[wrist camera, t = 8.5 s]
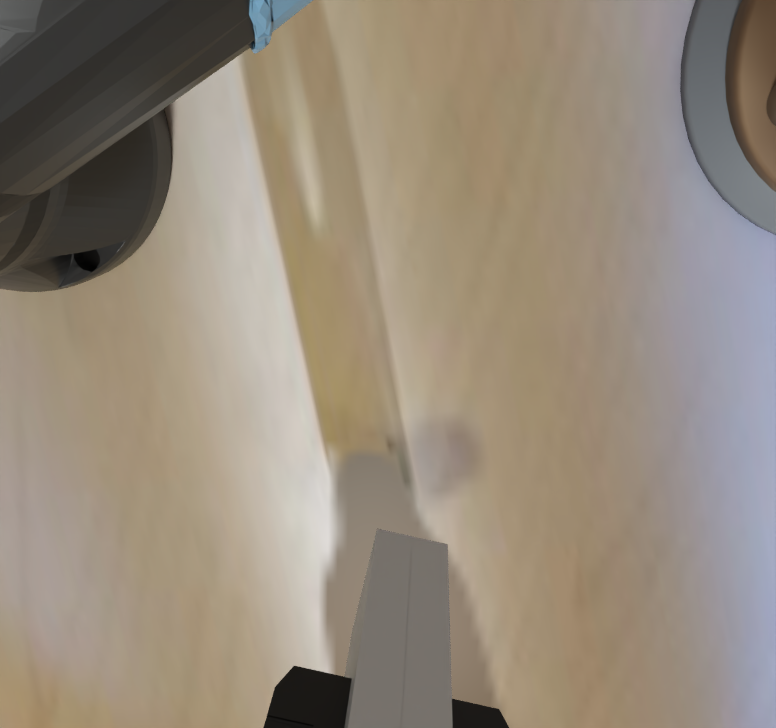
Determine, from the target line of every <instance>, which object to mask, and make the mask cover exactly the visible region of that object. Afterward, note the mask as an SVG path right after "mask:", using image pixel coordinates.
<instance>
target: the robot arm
mask: <svg viewBox="0 0 776 728" xmlns="http://www.w3.org/2000/svg"><path fill="white" fill-rule="evenodd" d="M311 1H313V0H0V289H6V290H14V291H23V292H42V291H51V290H58V289H63V288H68V287H71V286H75V285H78V284H80V283H83V282H86V281H88V280H90V279H93V278H95V277H97V276H100V275H102V274H104V273H106V272H108V271H110V270H112V269H113V268H115V267H117V266H118V265H120V264H121V263H123V262H124V261H125V260H126V259H128V258H129V257H130V256H131V255H132V254H133V253H134V252H135V251H136V250H137V249H138V248H139V247H140V246H141V245H142V244H143V242H144V241H145V240H146V238H147V237H148V236H149V234H150V233H151V231H152V229H153V228H154V226H155V224H156V222H157V220H158V218H159V216H160V214H161V211H162V209H163V206H164V203H165V199H166V196H167V191H168V187H169V181H170V172H171V145H170V136H169V129H168V125H167V120H166V116H165V112H164V108H165V107H167V106H168V105H169V104H171V103H172V102H174V101H175V100H176V99H178V98H179V97H181V96H182V95H184V94H185V93H186V92H188V91H189V90H191V89H192V88H193V87H195V86H196V85H198V84H199V83H200V82H202V81H203V80H205V79H206V78H208V77H209V76H210V75H212V74H213V73H215V72H216V71H217V70H219V69H220V68H222V67H223V66H225V65H226V64H227V63H229V62H230V61H232V60H233V59H234V58H236V57H237V56H239V55H240V54H241V53H243V52H244V51H246V50H247V49H249V48H251V50H252V51H253V52H254V53H258V52H259V51H261V50H262V49H264V48H265V47H266V46H267V45H268V44H269V42H270V39H271V35H272V32H273V31H274V30H276V29H277V28H278V27H280V26H281V25H282V24H283V23H285V22H286V21H287V20H288V19H290V18H291V17H292V16H294V15H295V14H296V13H297V12H299V11H300V10H301V9H303V8H304V7H305V6H306V5H308V4H309V3H310V2H311ZM448 583H449V581H448V544H444V543H439V542H435V541H431V540H426V539H422V538H417V537H412V536H408V535H404V534H399V533H395V532H390V531H386V530H381V529H377V531H376V536H375V540H374V544H373V548H372V552H371V556H370V560H369V564H368V568H367V572H366V576H365V580H364V584H363V589H362V593H361V597H360V601H359V605H358V609H357V614H356V617H355V622H354V625H353V630H352V634H351V640H350V647H349V652H348V658H347V665H346V671H345V676H344V677H343V676H338V675H334V674H329V673H325V672H320V671H316V670H311V669H307V668H302V667H298V666H294V667H293V668H292V669H291V670H290V671H289V672H288V673H287V674H286V675H285V677H284V678H283V679H282V680H281V681H280V682H279V683H278V684H277V686H276V687H275V690H274V693H273V697H272V700H271V704H270V707H269V711H268V714H267V718H266V721H265V724H264V728H509V727H508V725H507V723H506V721H505V719H504V717H503V716H502V714H501V712H500V710H499V709H496V708H491V707H486V706H482V705H478V704H473V703H469V702H464V701H460V700H455V699H452V690H451V689H452V687H451V652H450V616H449V585H448Z"/></svg>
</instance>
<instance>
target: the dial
mask: <svg viewBox="0 0 776 728" xmlns="http://www.w3.org/2000/svg"><path fill="white" fill-rule="evenodd" d="M725 88H726V102H727V107H728V113H729V118H730V123H731V125H732V128H733V131H734V134H735V137H736V140H737V142H738V144H739V146H740V148H741V150H742V152H743V154H744V156H745V158H746V160H747V161H748V162H749V164H750V165H751V167H752V168H753V169H754V171H755V172H756V173H757V175H758V176H759V177H760V178H761V179H762V180H763V181H764V182H765V183H766V184H767V185H768V186H769V187H770V188H771V189H772V190H774V191H775V192H776V0H742V2H741V4H740V6H739V9H738V12H737V15H736V18H735V21H734V24H733V28H732V31H731V35H730V40H729V46H728V51H727V57H726V71H725Z"/></svg>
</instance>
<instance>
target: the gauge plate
mask: <svg viewBox="0 0 776 728" xmlns="http://www.w3.org/2000/svg"><path fill="white" fill-rule="evenodd" d="M741 2H742V0H697V1H696V3H695V6H694V8H693V11H692V14H691V18H690V22H689V25H688V29H687V33H686V36H685V42H684V49H683V55H682V62H681V87H680V92H681V102H682V111H683V118H684V122H685V127H686V131H687V135H688V139H689V142H690V144H691V147H692V149H693V152H694V154H695V157H696V159H697V162H698V164H699V165H700V167H701V169H702V171H703V172H704V174H705V176H706V177H707V179H708V181H709V182H710V184H711V185H712V186H713V187H714V189H715V190H716V191H717V192H718V194H719V195H720V196H721V197H722V199H723V200H725V201H726V202H727V203H728V204H729V205H730V206H731V207H732V208H733V209H734V210H735V211H736V212H738V213H739V214H740V215H742V216H743V217H744V218H746V219H747V220H749V221H750V222H752V223H753V224H755V225H756V226H758V227H760V228H762V229H764V230H766V231H769V232H771V233H773V234H775V235H776V192H775V191H774V190H772V189H771V188H770V187H769V186H768V185H767V184H766V183H765V182H764V181H763V180H762V179H761V178H760V177H759V176H758V175H757V173H756V172H755V171H754V169H753V168H752V167H751V165H750V164H749V162H748V161H747V160H746V158H745V156H744V154H743V152H742V150H741V148H740V146H739V144H738V142H737V140H736V137H735V134H734V131H733V128H732V125H731V123H730V118H729V113H728V107H727V102H726V88H725V71H726V57H727V51H728V46H729V40H730V35H731V31H732V28H733V24H734V21H735V18H736V15H737V12H738V9H739V6H740V4H741Z"/></svg>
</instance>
